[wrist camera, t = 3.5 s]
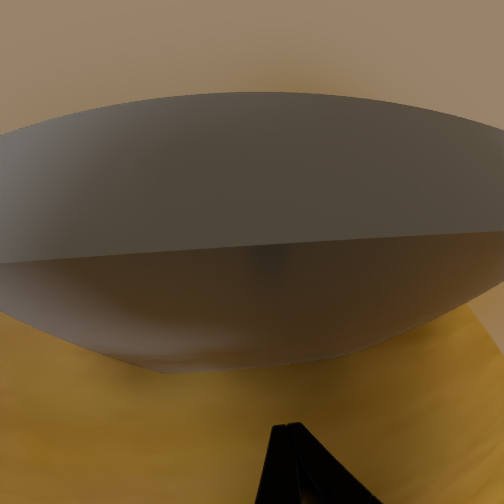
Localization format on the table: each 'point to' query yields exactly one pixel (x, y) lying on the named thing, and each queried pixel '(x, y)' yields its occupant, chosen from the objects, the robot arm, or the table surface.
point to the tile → (247, 226)
